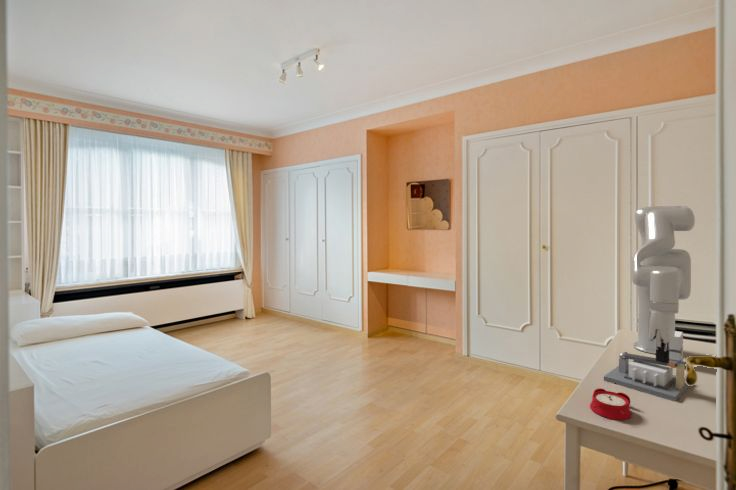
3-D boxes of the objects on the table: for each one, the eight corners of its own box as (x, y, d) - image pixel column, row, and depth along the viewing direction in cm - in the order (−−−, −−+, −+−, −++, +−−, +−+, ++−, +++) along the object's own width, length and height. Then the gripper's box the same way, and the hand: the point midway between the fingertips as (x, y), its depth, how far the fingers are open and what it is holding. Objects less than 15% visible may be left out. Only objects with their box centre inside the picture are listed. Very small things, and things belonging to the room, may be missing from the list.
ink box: (680, 368, 140) (681, 337, 139) (663, 364, 144) (663, 334, 143) (683, 361, 146) (684, 331, 145) (666, 358, 150) (667, 329, 149)
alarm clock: (588, 404, 110) (592, 374, 122) (588, 422, 112) (592, 391, 124) (631, 414, 104) (632, 382, 116) (631, 432, 106) (631, 399, 118)
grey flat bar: (619, 358, 135) (619, 353, 135) (623, 355, 137) (623, 351, 137) (675, 368, 122) (674, 363, 122) (678, 365, 124) (678, 360, 124)
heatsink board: (623, 366, 144) (623, 344, 143) (691, 384, 128) (692, 359, 127) (603, 380, 133) (604, 356, 132) (675, 401, 117) (676, 374, 116)
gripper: (657, 301, 132) (655, 353, 133) (642, 308, 123) (640, 363, 124) (684, 305, 126) (683, 359, 127) (671, 312, 117) (669, 370, 118)
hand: (662, 361), depth 125 cm, fingers closed
